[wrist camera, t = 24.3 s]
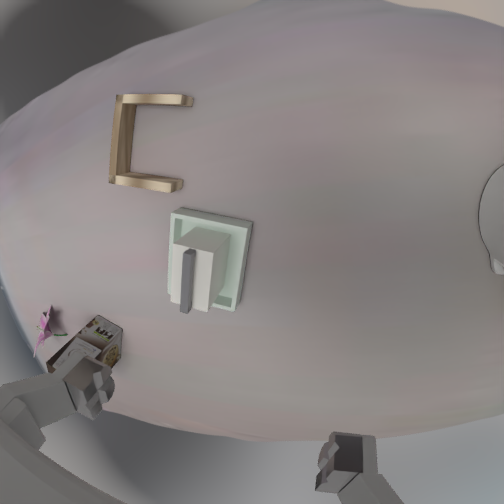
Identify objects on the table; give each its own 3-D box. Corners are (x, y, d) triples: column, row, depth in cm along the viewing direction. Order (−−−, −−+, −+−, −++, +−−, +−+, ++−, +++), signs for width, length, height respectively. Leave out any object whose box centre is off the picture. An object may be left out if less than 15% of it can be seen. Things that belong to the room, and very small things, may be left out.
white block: (230, 234, 40) (208, 258, 32) (223, 286, 43) (202, 319, 35) (195, 226, 41) (166, 248, 33) (191, 278, 44) (165, 307, 36)
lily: (72, 305, 55) (32, 308, 47) (78, 358, 55) (40, 365, 47) (56, 301, 62) (22, 303, 54) (61, 348, 61) (28, 352, 53)
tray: (252, 222, 39) (247, 228, 37) (239, 301, 44) (234, 312, 41) (180, 207, 41) (171, 212, 38) (176, 284, 45) (167, 293, 43)
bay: (193, 97, 35) (182, 94, 32) (182, 188, 40) (170, 192, 37) (130, 96, 36) (116, 94, 33) (122, 179, 41) (108, 182, 38)
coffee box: (97, 313, 52) (44, 361, 38) (123, 328, 52) (73, 382, 37) (96, 344, 56) (52, 391, 41) (121, 359, 56) (78, 410, 41)
